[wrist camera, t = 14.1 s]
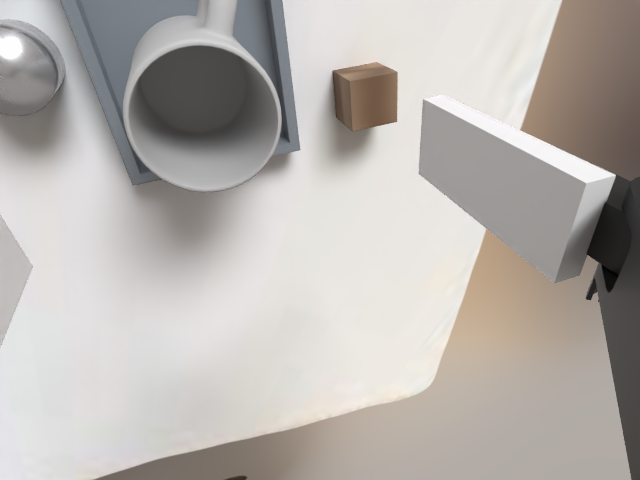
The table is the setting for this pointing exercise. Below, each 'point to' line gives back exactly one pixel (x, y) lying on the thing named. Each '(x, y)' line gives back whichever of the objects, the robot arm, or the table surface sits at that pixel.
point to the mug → (200, 102)
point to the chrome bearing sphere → (27, 68)
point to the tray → (136, 19)
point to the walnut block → (365, 96)
